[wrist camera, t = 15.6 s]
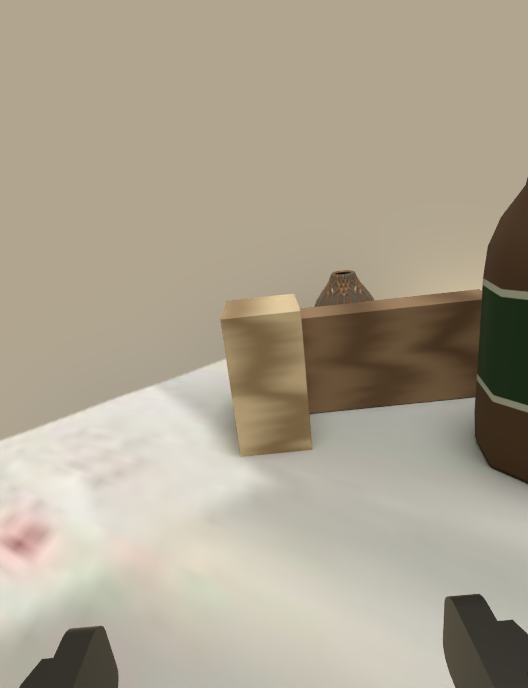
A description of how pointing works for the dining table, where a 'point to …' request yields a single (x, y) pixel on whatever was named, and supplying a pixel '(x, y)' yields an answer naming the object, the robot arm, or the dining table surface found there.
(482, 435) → the beer bottle
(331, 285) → the vase
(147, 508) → the dining table surface
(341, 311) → the walnut board
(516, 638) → the robot arm
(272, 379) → the maple block
